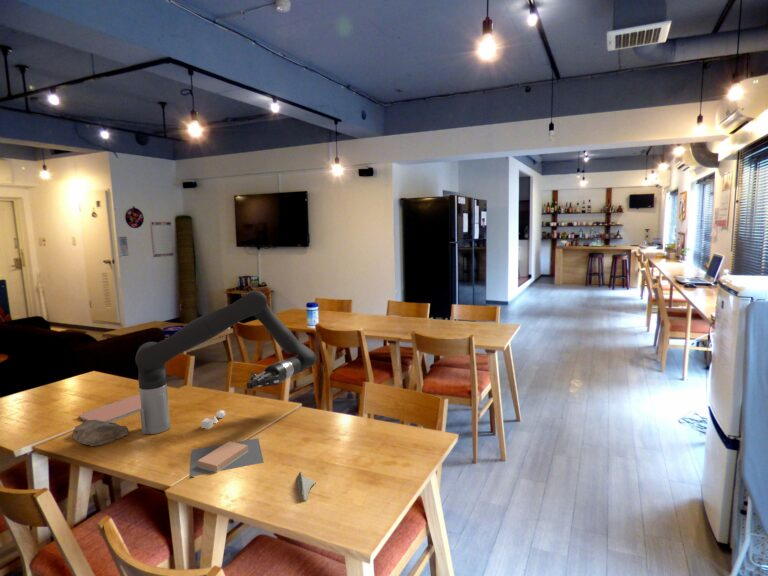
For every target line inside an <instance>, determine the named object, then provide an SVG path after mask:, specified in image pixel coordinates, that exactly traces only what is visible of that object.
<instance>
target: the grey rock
mask: <svg viewBox="0 0 768 576" xmlns="http://www.w3.org/2000/svg"><path fill="white" fill-rule="evenodd" d="M72 431H73V432H72V434H73V435H72V437H73V439H74V440H75V441H76V442H78V443H80V444H81V445H86V446H90V447H94V446H95V447H97V446H103V445H106V444H109V443H112V442H114V441H115V440H118V439H122V438H124V437H127V436H128V435H129V428H128V426H127V425H120V424H118V423H116V422H114V421H112V422H107V421H100V420H89V421H84V422H82V423H81V424H79V425H76V426H75V427H74V429H73V430H72Z"/></svg>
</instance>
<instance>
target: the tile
mask: <svg viewBox="0 0 768 576" xmlns="http://www.w3.org/2000/svg"><path fill="white" fill-rule="evenodd" d="M235 442H236V441H235ZM235 442H234V441H230V440H229V441H227V442H225V443H223V444H224V445H222V444H221V445H222V446H221V447H219V448H217V449H216V450H214V451H212V452H211V453H209V454H208V455H206V456H204V457H203V458H201V459H199V460H198V467H199V468H203V469H206V470H210V471H214V472H213V473H219V472H221V471H220V470H222V469H223V468H225V467H226V466H228V465H229V464H231V463H232V462H234V461H235V460H237V459H238V458H239V457H241V456H242V455H244V454H245V453H247V452H248V445H244V444H239V443H235Z"/></svg>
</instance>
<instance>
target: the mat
mask: <svg viewBox="0 0 768 576" xmlns="http://www.w3.org/2000/svg"><path fill="white" fill-rule="evenodd" d="M235 443H239V444H244V445H248V452H247V453H245V454H244V455H242V456H241V457H239V458H238V459H237V460H235V461H234V462H232V463H231V464H229V465H228V466H226V467H225V468H223V469H222V470H220V471H219V472H222V471H226V470H227V471H228V470H232V469H237V468H243V467H247V466H253V465H258V464H259V465H260V464H263V463H264V457H263V454H262V453H263V452H262V449H261V444H260V440H259V438H258V437H257V438H252V439H246V440H245V439H244V440H240V441H235ZM224 444H225V443H223V444H217V445H211V446H206V447H200V448H194V449H191V452H190V453H191V454H190V464H189V465H190V466H189V477H188V478H189V479H194V478H196V476H200V475H207V474H212V473H215V472H214V471H210V470H206V469H203V468H199V467H198V460H199V459H201V458H203V457H204V456H206V455H208V454H209V453H211V452H212V451H214V450H216V449H217V448H219V447H221V446H222V445H224Z"/></svg>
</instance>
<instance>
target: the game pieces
mask: <svg viewBox="0 0 768 576" xmlns="http://www.w3.org/2000/svg"><path fill="white" fill-rule="evenodd" d="M226 413H227V411H226V410H223V409H221V410H218V411H216V412H215V415H216V416H215V415H214V416H213V417H212V418H208V417H206V418H204V419H203V420H201V421H200V424H201V425H200V426H201V429H202V428H205V429H204V430H210V429H211V428H213V427H214V424H213V423H216V424H218V423H219V420H218V419H221V418H222V419H223V418H225V416H226ZM217 422H218V423H217ZM212 426H213V427H212Z"/></svg>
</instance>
